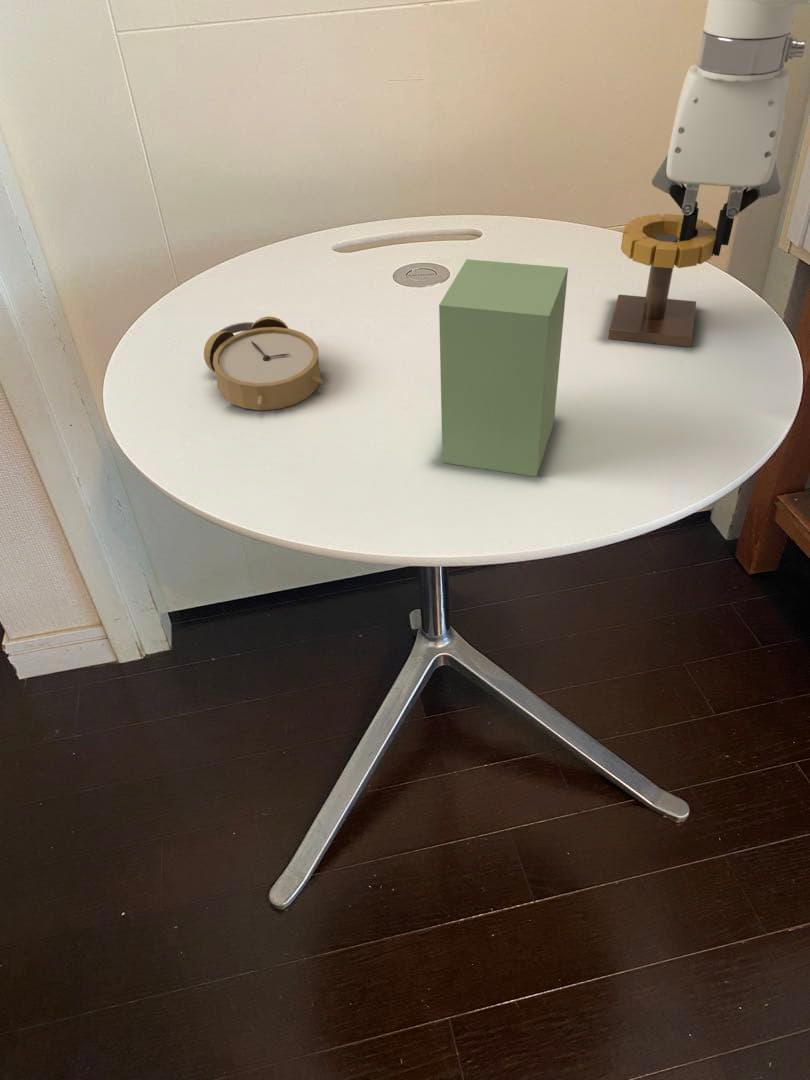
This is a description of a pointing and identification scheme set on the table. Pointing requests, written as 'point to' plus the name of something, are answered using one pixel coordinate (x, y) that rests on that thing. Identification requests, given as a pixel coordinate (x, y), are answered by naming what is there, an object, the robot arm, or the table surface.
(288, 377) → the alarm clock
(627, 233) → the brass ring
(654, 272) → the peg stand
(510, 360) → the sage green upright pillar
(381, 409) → the table surface
